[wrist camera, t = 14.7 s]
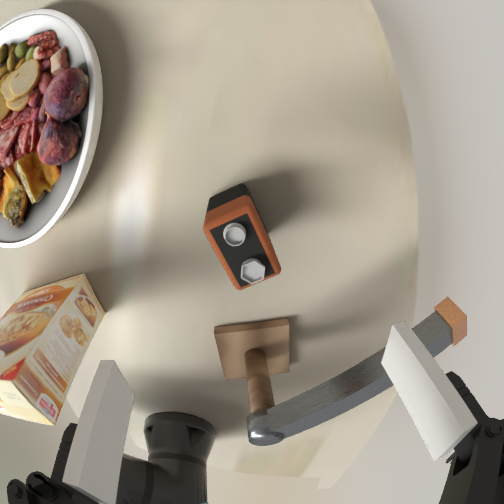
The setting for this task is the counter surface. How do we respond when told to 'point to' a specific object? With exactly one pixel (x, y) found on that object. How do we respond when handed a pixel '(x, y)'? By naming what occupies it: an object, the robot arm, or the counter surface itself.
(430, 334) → the swing arm
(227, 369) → the arm post
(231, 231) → the battery
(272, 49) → the counter surface
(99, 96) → the bowl
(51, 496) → the robot arm
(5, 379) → the coffeecake box
